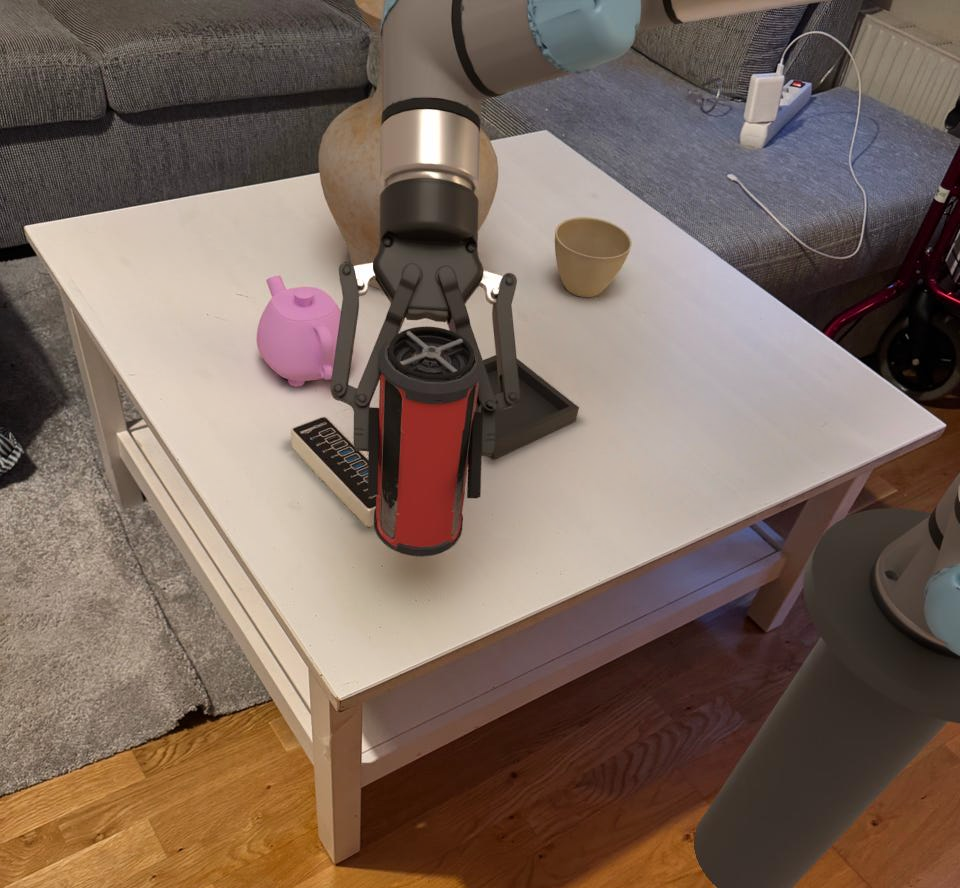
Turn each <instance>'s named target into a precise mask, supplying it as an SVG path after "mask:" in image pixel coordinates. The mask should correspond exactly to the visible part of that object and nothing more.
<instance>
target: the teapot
mask: <svg viewBox="0 0 960 888" xmlns="http://www.w3.org/2000/svg"><path fill="white" fill-rule="evenodd" d="M265 282H266V284H267V287H268V290H269V293H270V295H271V298H270V300H269V301H268V302H267V304H266V306H265V308H264V310H263V311H262V313H261V315H260V318H259V322H258V325H257V330H256V347H257V351H258V352H259V355H260V356H261V358H262V359H263V361H264V362H265V363H266V364H267V365H268V366H269V367H270V369H272V370H273V371H274V372H275V373H276V374H277V375H279V377H282V378H284V379H287V383H288V384H289V385H290V386H292V387H302V386H304V384H305V383H306V382H307V381H317V380H322V379H323V380H326V381H329V380H330V381H331V379H332V372H333V365H334V358H335V350H336V343H337V336H338V329H339V322H340V315H341V308H340V307H339V306H338V304H337V302H336V301H335V299H333V297H332V296H331V295H330V294H329V293H328V292H326V291H325V290H323V289H321V288H318V287H315V286H296V287H291V288H286V286H285V283H284V280H283V278H282V276H281V275H280V274H279V275H274V276H271V277H269V278H267V279H266V280H265ZM353 355H354V353H353V354H352V356H353Z"/></svg>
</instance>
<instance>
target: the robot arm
mask: <svg viewBox="0 0 960 888" xmlns="http://www.w3.org/2000/svg"><path fill="white" fill-rule="evenodd" d="M829 1H830V0H384V5H383V17H382V23H381V26H380V33H381V34H380V39H381V45H382V126H381V158H380V181H381V184H382V185H383V187H384V188H385V189H384V191H383V192H382V193H381V194H380V234H379V250H378V253H377V255H376V257H375V258H374V261H373V263H368V264H362V265H356V266H353V265H352V264H351V262H349V261H344V262H341V264H340V265H339V267H338V277H339V284H340V289H341V294H342V301H341V308H340V310H341V315H340V322H339V329H338V336H337V343H336V350H335V358H334V365H333V372H332V379H330V387H329V388H330V389H329V390H330V394H331V396H332V398H333V399H334V400H335V401H337V402H342V403H344V404H346V405H348V406H350V407H351V408H352V410H353V444H354V446H355V449H356V451H361V452H368V453H367V454H368V455H367V456H368V457H367V458H368V495H378V449H379V407H371V402H372V400H373V397H374V395H375V393H376V390H377V388H378V385H379V384H380V376H379V374H378V354H379V351H380V349H381V347H382V346H383V345H384V344H385V343H386V342H387V341H388V340H390V339H391V338H393V337H395V336H396V335H397V334H399V333H400V332H401V330H402V327H403V324H404V322H405V319H406V321H420V320H423V319H427V320H430V321H434V322H436V323H446V324H447V327H448V330H450V331H452V332H455V333H457V334H459V335H460V336H462V337H463V338H465V339H466V340H467V341H468V342H469V343H470V344H471V345H472V346H473V347H474V348H475V349H476V350H477V351H478V353H479V354H480V356H481V357H482V354H481V351H480V348H479V346H478V342H477V340H476V335H475V334H474V331H473V327H472V325H471V320H470V319H471V318H470V315H469V312H468V310H467V306H466V303H467V302H468V301H469V300H470V298H471V296H472V295H474V293H475V291H476V290H477V289H478V288H479V287H480V288H482V289H483V290H484V294H485V301H486V302H487V303H488V304H490V305H491V306H492V312H491V317H492V319H491V320H492V328H493V339H494V350H495V355H496V360H497V370H498V380H499V390H500V393H499V394H496V395H495V394H494V391H493V388H492V385H491V383H490V380H489V377H488V374H487V371H486V368H485V365H484V362H483V374H482V377H481V379H480V380H479V386H478V393H477V401H476V404H477V407H478V410H479V412H475V413H474V417H473V422H472V430H471V438H470V446H469V454H468V468H467V480H466V482H467V484H466V487H467V488H466V499H480V498H481V495H482V494H481V491H482V490H481V489H482V457H489V456H491V455H493V452H494V450H495V440H496V416H497V413H498V412H499V411H502V410H505V409H509V408H512V407H513V406H514V405H516V404H517V403H518V402H519V400H520V387H519V376H518V366H517V359H518V358H517V357H518V356H517V348H516V336H515V327H514V326H515V325H514V317H513V316H514V315H513V305H512V304H513V301H514V296H515V292H516V289H517V283H518V279H517V276H516V275H515V274H514V273H512V272H506V273H505V274H503V275H501V274H499V273H494V272H491V271H488V270H484V266H483V264H482V262H481V260H480V257H479V253H478V242H479V241H478V239H479V231H478V205H479V201H478V198H477V197H476V195H475V194H474V193H475V192H476V191H477V190H478V187H479V166H480V128H481V123H482V105H483V104H482V103H483V102H484V101H485V100H489V99H492V98H497V97H500V96H503V95H506V94H507V93H510V92H515V91H517V90H521V89H524V88H526V87H527V88H528V87H531V86H534V85H538V84H541V83H546V82H548V81H551V80H552V81H553V80H555V79H559V78H563V77H566V76H569V75H570V76H571V75H572V74H577V75H582V74H585V73H589V72H590V71H591V70H593V69H594V68H596V67H598V66H600V65H603V64H605V63H608V62H610V61H614V60H616V59H619V58H620V57H622V56H624V55H625V54H626V53H628V51H629V50H630V49H631V47H632V46H633V44H634V42H635V39H636V32H640V31H646V30H653V29H659V28H665V27H670V26H675V25H680V24H685V23H691V22H696V21H697V22H698V21H702V20H710V19H716V18H723V17H730V16H735V15H742V14H743V15H744V14H749V13H755V12H756V13H757V12H762V11H769V10H777V9H782V8H788V7H795V6H802V5H808V4H809V5H810V4H816V3H823V2H829ZM374 279H376V281H377V283H378V284H379V286H380V287H381V289H382V290H381V289H380V290H381V291H382V292H383V293H384V295H385V296H386V298H387V300H388V301H389V303H390V305H389V308H388V311H387V313H386V316H385V319H384V321H383V324H382V326H381V329H380V331H379V333H378V336H377V339H376V340H375V343H374V346H373V349H372V351H371V354H370V356H369V358H368V361H367V363H366V366H365V368H364V370H363V373H362V376H361V378H360V381H359V383H358V386H357V387H355V386H353V385H350V384H349V382H350V374H351V368H352V361H353V355H354V347H355V341H356V333H357V332H356V331H357V325H358V320H359V319H358V318H359V312H360V297H364V296H365V295H367V293H368V291H369V286H370V285H369V283H370V281H372V280H374ZM352 354H353V355H352ZM482 360H484V359H483V357H482ZM471 418H472V415H471ZM470 426H471V423H470ZM469 434H470V431H469ZM468 442H469V441H468ZM930 513H931V515H930V516H929V517H928V518H926V519H925V520H923V521H922V522H921V523H919V524H918V525H916V526H915V527H913V528H912V529H911V530H909V531H908V532H906V533H905V534H903V535H902V536H901V537H899V538H898V539H896V540H895V541H893V542H892V543H890V544H889V545H888V546H887V547H886V548H885V549H884V550H883V551H882V553H881V555H880V556H879V558H878V559H877V561H876V562H875V564H874V565H873V567H872V570H871V573H870V588H871V592H872V595H873V598H874V600H875V602H876V604H877V606H878V607H879V609H880V610H881V612H882V613H883V615H884V616H885V617H886V618H887V619H888V620H889V622H890V623H891V624H892V625H893V626H894V627H895V628H897V629H898V630H899V631H900V632H901V633H903V634H904V635H905V636H907V637H908V638H909V639H911V640H912V641H914V642H916V643H917V644H919V645H921V646H923V647H925V648H927V649H929V650H931V651H934V652H936V653H939V654H942V655H945V656H948V657H952V658H957V659H960V472H958V474H957V476H956V477H955V478H954V479H953V481H952V483H951V484H950V485H949V487H948V488H947V489H946V491H945V493H944V494H943V496H942V497H941V499H940V500H939V501H938V503H937V505H936V506H935V507H934V509H933V510H932V512H930Z"/></svg>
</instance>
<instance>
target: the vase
mask: <svg viewBox="0 0 960 888" xmlns="http://www.w3.org/2000/svg"><path fill="white" fill-rule="evenodd" d="M354 2H355V4H356V7H357V10H358V11H359V13H360V15H361V18H362V20H363V21H364V23H365V24H366V25H367V26H368V27H370V29H372V30H373V31H374V32H375V34H376V37H377V42H378V50H379V70H378V71H379V72H378V80H377V84H376V89H375V92H374V94H373V96H370V97H367V98H364V99H363V100H360V101H358V102H355V103H354V104H351V106H349V107H348V108H346V109H344V110H343V111H342V112H341V113H340V114H338V115H337V116H336V117H335V118H334V119H333V120H332V121H331V122H330V124H329V125H328V127H327V128H326V130H325V132H324V133H323V134H322V137H321V141H320V144H319V150H318V154H317V155H318V172H319V179H320V185H321V189H322V193H323V196H324V199H325V201H326V204H327V206H328V210H329V212H330V214H331V216H332V217H333V220H334V222H335V224H336V226H337V228H338V230H339V232H340V234H341V237H342V238H343V241H344V243H345V244H346V248H347V249H348V252H349V258H350V263H351V264H352V265H353V266H356V265H362V264H368V263H373V261H374V258H375V257H376V255H377V253H378V250H379V234H380V194H381V193H382V192H383V191H384V189H385V188H384V187H383V185H382V184H381V181H380V158H381V126H382V45H381V39H380V34H381V33H380V26H381V23H382V17H383V5H384V0H354ZM498 184H499V163H498V156H497V153H496V151H495V149H494V146H493V144H492V142H491V140H490V138H489V137H488V135H486V133H485V132H484V130H483V129H482V128H481V127H480V166H479V187H478V190H477V191H476V192H475V193H474V194H475V195H476V197H477V198H478V201H479V205H478V232H479V231H480V229H481V228H482V226H483V224H484V223H485V221H486V220H487V217H488V215H489V213H490V210H491V208H492V205H493V202H494V200H495V196H496V193H497V189H498ZM368 286H371V287H373V288H376V289H378V290H381V291H383V290H382V289H381V287H380V286H379V284H378V283H377V281H376V279H374V280H372V281H370V283H369V285H368Z"/></svg>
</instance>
